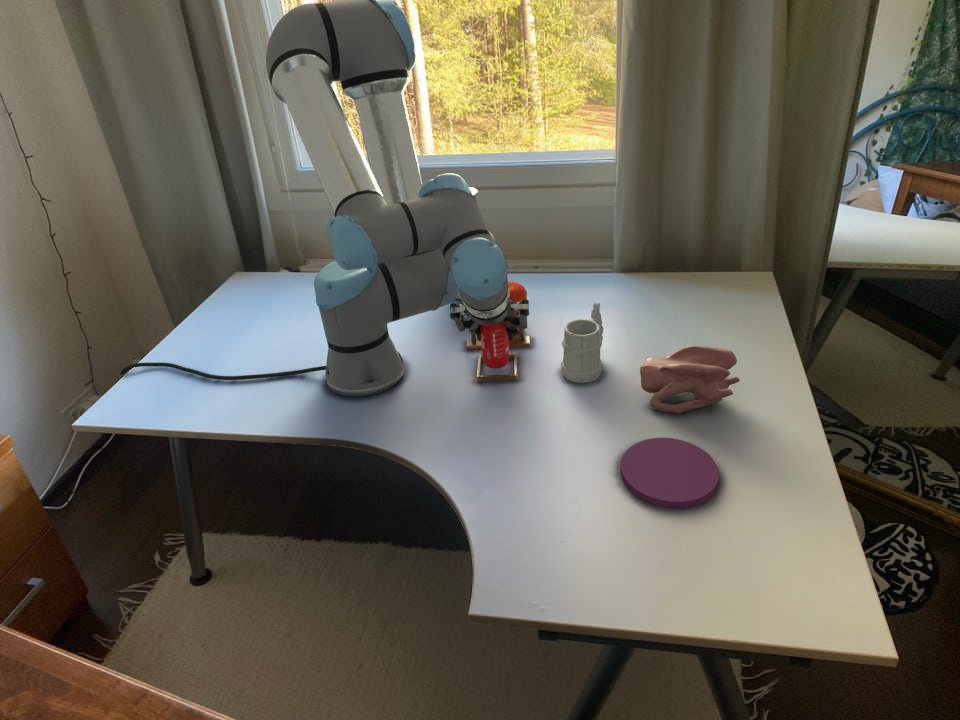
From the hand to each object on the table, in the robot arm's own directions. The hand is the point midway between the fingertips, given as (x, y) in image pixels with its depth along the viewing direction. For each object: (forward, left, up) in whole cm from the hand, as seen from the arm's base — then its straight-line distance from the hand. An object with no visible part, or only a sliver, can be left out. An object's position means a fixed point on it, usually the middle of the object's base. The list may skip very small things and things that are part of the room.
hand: (495, 333), depth 122 cm
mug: (+18, +2, -6) cm, 19 cm away
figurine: (+37, -2, -6) cm, 37 cm away
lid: (+38, -22, -6) cm, 44 cm away
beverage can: (+1, -3, -5) cm, 6 cm away
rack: (0, 0, -6) cm, 6 cm away
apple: (-2, +11, -6) cm, 13 cm away
